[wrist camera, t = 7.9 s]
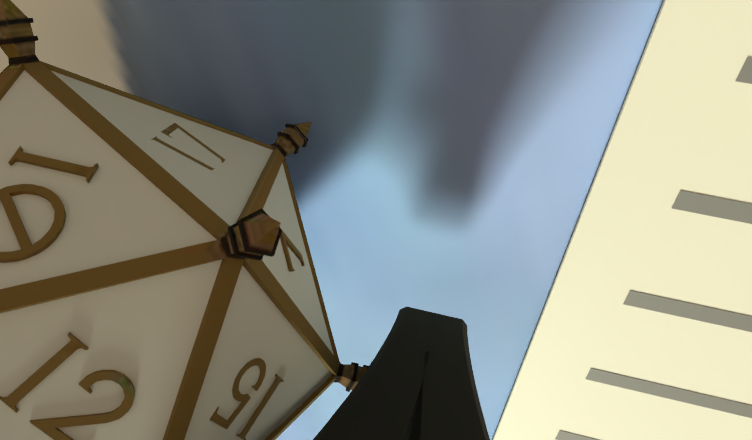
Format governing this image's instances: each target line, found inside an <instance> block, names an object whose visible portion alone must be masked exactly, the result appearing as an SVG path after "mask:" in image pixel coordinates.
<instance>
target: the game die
mask: <svg viewBox="0 0 752 440" xmlns="http://www.w3.org/2000/svg"><path fill="white" fill-rule="evenodd" d="M32 22H33V18H27V16H25V15H24V14H23V13H22V12H21V11H20V10H19V9H18V8H17V7H16V6H15V5H14V4H13V3H12V2H11V1H10V0H0V47H1V48H2V50H3V51H4V52H5V54H6V55H7V56H8V58H9V66H7V67H6V68H5V69H4V70H3V72H1V73H0V440H275V439H276V438H277V437H278V436H279V435H280V434H281V433H282V432H283V431H284V430H285V429H286V428H287V427H288V426H289V425H290V424H291V423H292V422H294V421H295V420H296V419H297V418H298V417H299V416H300V415H301V414H302V413H303V412H304V411H305V410H306V409H307V408H308V407H309V406H310V405H311V404H312V403H313V402H314V401H315V400H316V399H317V398H318V397H319V396H320V395H321V394H322V393H323V392H324V391H325V390H326V389H327V388H328V387H329V386H330V385H331V384H332V383H333V382H339V383H340V384H342V385H343V386H345V387H346V391H348V392H349V391H350V389H351V390H353V389H354V388H355V386H356V385H357V383H358V382H359V380H360V379H361V377H362V376H363V375H364V373H365V372H366V370H367V369H368V367H369V366H366V365H364V366H363V367H360V366H358V364H357V363H353V362H352V363H351V365H343V364H341V363H340V362H339V358H338V355H337V351H336V347H335V343H334V340H333V336H332V332H331V328H330V325H329V321H328V317H327V313H326V310H325V306H324V302H323V298H322V295H321V291H320V287H319V283H318V280H317V276H316V272H315V268H314V265H313V261H312V257H311V253H310V250H309V246H308V242H307V238H306V235H305V231H304V227H303V223H302V220H301V216H300V212H299V208H298V205H297V201H296V197H295V194H294V190H293V186H292V182H291V179H290V175H289V171H288V167H287V164H286V160H285V157H286V156H288V155H290V154H292V153H294V154H297V153H298V150H299V148H300V147H301V146H303V147H305V146H306V144H307V141H308V139H307V134H308V131H309V128H310V124H311V122H307V123H301V124H294V125H292V124H286V125H285V126H286V129H285V130H284V131H283V132H278V133H277V134H278V138H277V140H276V142H275V143H274V144H272V145H268V144H266V143H263V142H260V141H257V140H255V139H252V138H249V137H246V136H244V135H241V134H238V133H235V132H233V131H230V130H227V129H225V128H222V127H219V126H216V125H214V124H211V123H208V122H205V121H203V120H200V119H197V118H194V117H192V116H189V115H186V114H184V113H181V112H178V111H175V110H173V109H170V108H167V107H164V106H162V105H159V104H156V103H153V102H151V101H148V100H145V99H142V98H140V97H137V96H134V95H132V94H129V93H126V92H123V91H121V90H118V89H115V88H112V87H110V86H107V85H104V84H101V83H99V82H96V81H93V80H90V79H88V78H85V77H82V76H79V75H77V74H74V73H71V72H69V71H66V70H63V69H60V68H57V67H55V66H52V65H49V64H47V63H44V62H41V61H39V60H38V58H37V57H36V55H35V41H36V40H38V37H37V36H33V32H32V28H31V25H30V23H32Z"/></svg>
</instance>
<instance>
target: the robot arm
mask: <svg viewBox="0 0 752 440" xmlns="http://www.w3.org/2000/svg"><path fill="white" fill-rule="evenodd" d="M313 440H490V439H489V435H488V432H487V428H486V424H485V421H484V417H483V413H482V409H481V406H480V402H479V398H478V394H477V390H476V385H475V380H474V375H473V370H472V365H471V359H470V353H469V346H468V337H467V325H466V324H465V322H464V321H463V320H462V319H458V318H454V317H449V316H445V315H441V314H436V313H432V312H428V311H423V310H419V309H414V308H410V307H405V308H403V309H400V311H399V313H398V316H397V319H396V321H395V323H394V325H393V327H392V329H391V331H390V333H389V335H388V337H387V339H386V340H385V342H384V344H383V345H382V347H381V349H380V350H379V352H378V354H377V355H376V357H375V358H374V360H373V362H372V363H371V364H370V366H369V367H368V369H367V370H366V372H365V373H364V375H363V376H362V377H361V379H360V380H359V382H358V383H357V385H356V386H355V388H354V389H353V390H352V392H351V393H350V394H349V396H348V397H347V398H346V400H345V401H344V402H343V403H342V405H341V406H340V407H339V408H338V410H337V411H336V412H335V413H334V415H333V416H332V417H331V419H330V420H329V421H328V422H327V424H326V425H325V426H324V427H323V429H322V430H321V431H320V432H319V433H318V434H317V436H316V437H315V438H314V439H313Z"/></svg>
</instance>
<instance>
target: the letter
mask: <svg viewBox="0 0 752 440" xmlns="http://www.w3.org/2000/svg"><path fill="white" fill-rule="evenodd" d="M493 440H752V0H664V1H663V4H662V6H661V9H660V11H659V14H658V17H657V19H656V22H655V24H654V27H653V29H652V32H651V34H650V37H649V40H648V42H647V45H646V47H645V50H644V52H643V55H642V58H641V60H640V63H639V65H638V68H637V70H636V73H635V76H634V78H633V81H632V83H631V86H630V88H629V91H628V93H627V96H626V99H625V101H624V104H623V106H622V109H621V111H620V114H619V117H618V119H617V122H616V124H615V127H614V129H613V132H612V134H611V137H610V140H609V142H608V145H607V147H606V150H605V152H604V155H603V158H602V160H601V163H600V165H599V168H598V170H597V173H596V176H595V178H594V181H593V183H592V186H591V188H590V191H589V193H588V196H587V199H586V201H585V204H584V206H583V209H582V211H581V214H580V217H579V219H578V222H577V224H576V227H575V229H574V232H573V235H572V237H571V240H570V242H569V245H568V247H567V250H566V252H565V255H564V258H563V260H562V263H561V265H560V268H559V270H558V273H557V276H556V278H555V281H554V283H553V286H552V288H551V291H550V294H549V296H548V299H547V301H546V304H545V306H544V309H543V311H542V314H541V317H540V319H539V322H538V324H537V327H536V329H535V332H534V335H533V337H532V340H531V342H530V345H529V347H528V350H527V352H526V355H525V358H524V360H523V363H522V365H521V368H520V370H519V373H518V376H517V378H516V381H515V383H514V386H513V388H512V391H511V394H510V396H509V399H508V401H507V404H506V406H505V409H504V411H503V414H502V417H501V419H500V422H499V424H498V427H497V429H496V432H495V435H494V437H493Z"/></svg>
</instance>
